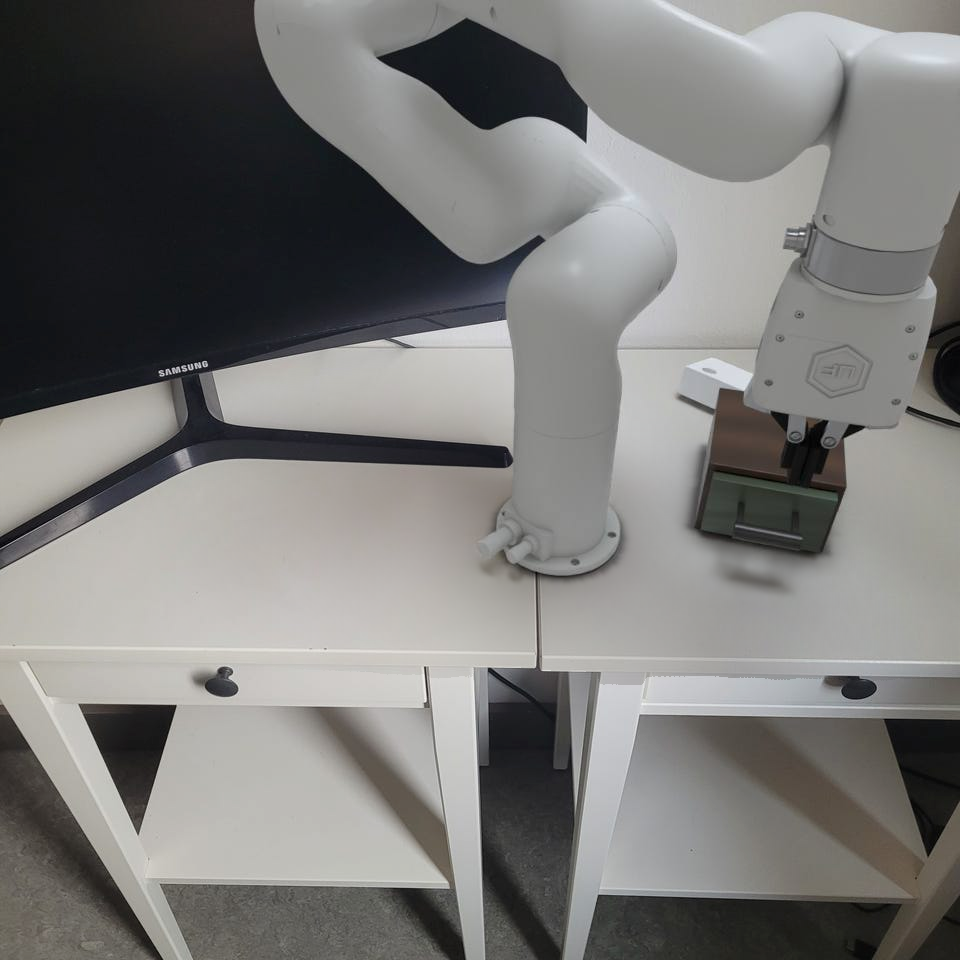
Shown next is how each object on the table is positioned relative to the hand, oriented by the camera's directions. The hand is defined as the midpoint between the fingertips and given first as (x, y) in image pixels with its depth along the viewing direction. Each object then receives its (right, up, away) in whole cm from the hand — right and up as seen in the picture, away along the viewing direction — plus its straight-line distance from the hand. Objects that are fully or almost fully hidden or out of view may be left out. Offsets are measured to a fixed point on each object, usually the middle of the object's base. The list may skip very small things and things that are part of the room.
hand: (797, 475), depth 64 cm
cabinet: (+5, -2, +24) cm, 25 cm away
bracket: (+7, +9, +37) cm, 39 cm away
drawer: (+4, -4, +20) cm, 21 cm away
